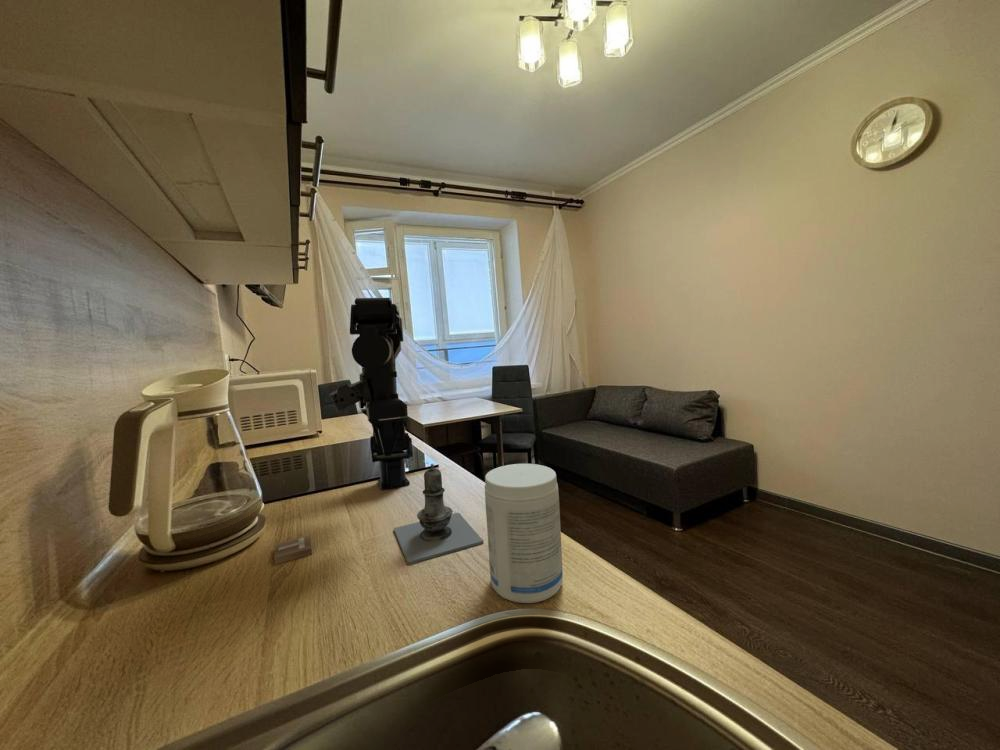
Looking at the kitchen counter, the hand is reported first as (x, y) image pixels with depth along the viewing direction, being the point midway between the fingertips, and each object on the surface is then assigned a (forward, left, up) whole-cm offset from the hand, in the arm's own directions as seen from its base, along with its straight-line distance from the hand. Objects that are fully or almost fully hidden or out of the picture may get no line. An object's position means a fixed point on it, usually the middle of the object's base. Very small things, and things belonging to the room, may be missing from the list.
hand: (383, 449), depth 70 cm
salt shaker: (+12, +6, -13) cm, 18 cm away
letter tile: (+5, -16, -14) cm, 21 cm away
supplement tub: (+30, +13, -13) cm, 35 cm away
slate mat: (+12, +6, -13) cm, 19 cm away
